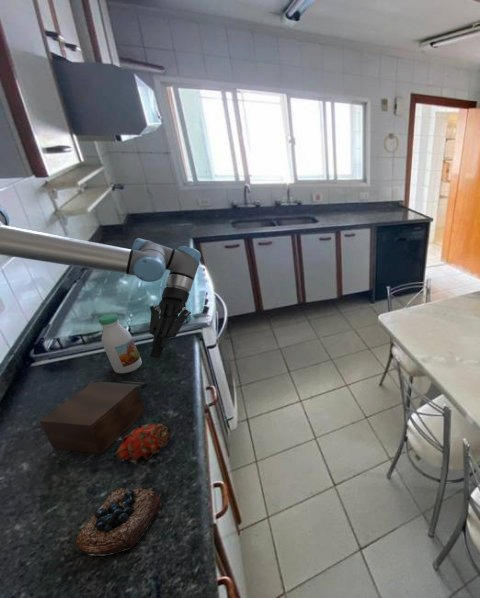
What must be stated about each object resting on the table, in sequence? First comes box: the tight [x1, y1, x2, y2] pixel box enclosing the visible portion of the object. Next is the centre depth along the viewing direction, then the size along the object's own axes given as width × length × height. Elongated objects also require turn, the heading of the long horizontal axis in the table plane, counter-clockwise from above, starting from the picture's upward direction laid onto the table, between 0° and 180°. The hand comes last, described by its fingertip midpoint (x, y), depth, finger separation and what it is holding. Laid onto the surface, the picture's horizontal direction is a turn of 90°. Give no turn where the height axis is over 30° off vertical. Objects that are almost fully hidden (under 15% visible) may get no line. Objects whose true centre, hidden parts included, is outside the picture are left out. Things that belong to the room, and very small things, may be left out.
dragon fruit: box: [112, 423, 172, 465], centre depth 82 cm, size 8×8×12 cm
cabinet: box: [39, 381, 146, 454], centre depth 87 cm, size 15×13×10 cm
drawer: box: [99, 380, 148, 409], centre depth 91 cm, size 18×11×8 cm, turn 177°
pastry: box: [75, 487, 163, 555], centre depth 67 cm, size 11×12×6 cm
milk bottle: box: [98, 313, 143, 374], centre depth 109 cm, size 8×8×20 cm
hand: (154, 357), depth 106 cm, fingers closed
